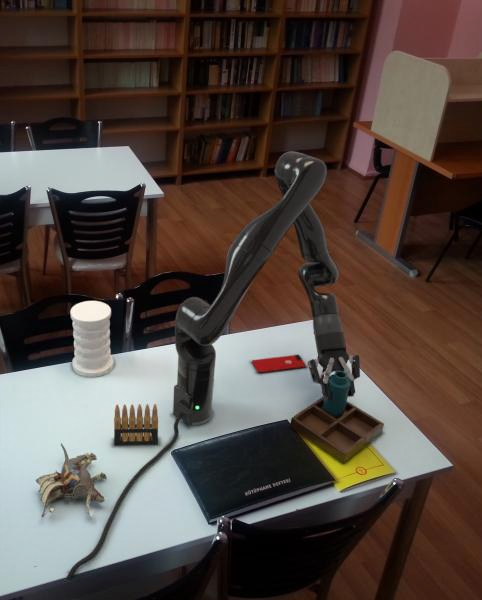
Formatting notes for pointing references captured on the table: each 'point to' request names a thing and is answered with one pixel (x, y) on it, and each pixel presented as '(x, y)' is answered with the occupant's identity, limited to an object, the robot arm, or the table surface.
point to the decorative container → (91, 338)
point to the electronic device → (278, 363)
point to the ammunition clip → (135, 427)
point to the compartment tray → (337, 429)
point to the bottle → (337, 394)
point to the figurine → (71, 482)
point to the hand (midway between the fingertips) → (339, 397)
